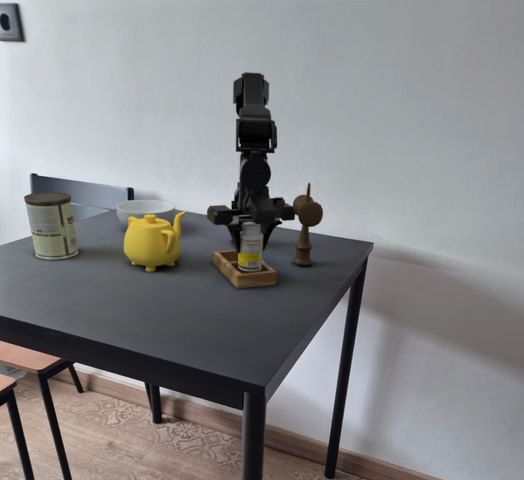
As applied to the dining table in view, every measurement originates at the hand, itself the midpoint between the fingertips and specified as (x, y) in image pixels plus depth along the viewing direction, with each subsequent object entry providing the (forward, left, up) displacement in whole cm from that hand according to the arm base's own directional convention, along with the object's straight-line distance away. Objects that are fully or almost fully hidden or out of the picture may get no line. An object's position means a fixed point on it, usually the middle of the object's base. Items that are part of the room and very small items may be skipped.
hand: (250, 251), depth 109 cm
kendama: (-6, +17, -7) cm, 19 cm away
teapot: (-17, -17, -7) cm, 25 cm away
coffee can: (-30, -40, -7) cm, 50 cm away
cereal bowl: (-46, -14, -7) cm, 49 cm away
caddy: (-4, 0, -7) cm, 8 cm away
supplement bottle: (0, 0, -4) cm, 4 cm away
